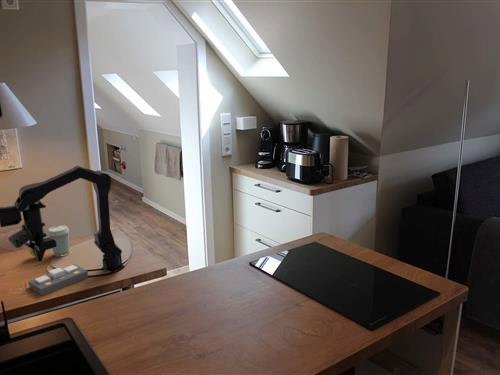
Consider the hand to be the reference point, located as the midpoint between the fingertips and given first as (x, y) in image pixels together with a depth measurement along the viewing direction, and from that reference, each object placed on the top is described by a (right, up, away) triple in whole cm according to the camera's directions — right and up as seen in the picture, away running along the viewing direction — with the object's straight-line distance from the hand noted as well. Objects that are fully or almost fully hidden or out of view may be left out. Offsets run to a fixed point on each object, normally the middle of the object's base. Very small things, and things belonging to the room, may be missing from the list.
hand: (39, 261), depth 159 cm
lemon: (-14, -3, +28) cm, 31 cm away
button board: (+5, -9, +6) cm, 11 cm away
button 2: (+7, -6, +10) cm, 14 cm away
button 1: (0, -8, +2) cm, 9 cm away
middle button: (+4, -6, +6) cm, 9 cm away
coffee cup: (-5, -2, +31) cm, 31 cm away
